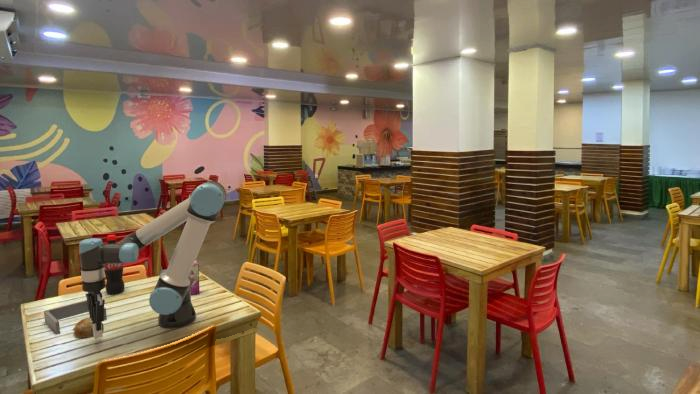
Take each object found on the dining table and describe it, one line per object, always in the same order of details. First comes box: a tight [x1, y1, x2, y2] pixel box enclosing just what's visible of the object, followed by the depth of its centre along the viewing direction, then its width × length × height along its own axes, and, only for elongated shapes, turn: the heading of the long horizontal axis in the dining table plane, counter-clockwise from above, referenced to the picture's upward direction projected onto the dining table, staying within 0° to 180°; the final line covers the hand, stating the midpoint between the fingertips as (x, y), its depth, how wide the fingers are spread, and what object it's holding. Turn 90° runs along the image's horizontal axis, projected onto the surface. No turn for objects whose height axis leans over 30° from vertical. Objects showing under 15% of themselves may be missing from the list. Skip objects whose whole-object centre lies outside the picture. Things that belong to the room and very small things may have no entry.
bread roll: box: [72, 316, 104, 339], centre depth 167 cm, size 10×10×8 cm
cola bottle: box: [104, 234, 125, 295], centre depth 208 cm, size 8×8×30 cm
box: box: [43, 299, 108, 335], centre depth 177 cm, size 17×18×5 cm
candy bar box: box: [190, 260, 200, 296], centre depth 207 cm, size 11×5×16 cm, turn 121°
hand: (98, 337), depth 160 cm, fingers closed
